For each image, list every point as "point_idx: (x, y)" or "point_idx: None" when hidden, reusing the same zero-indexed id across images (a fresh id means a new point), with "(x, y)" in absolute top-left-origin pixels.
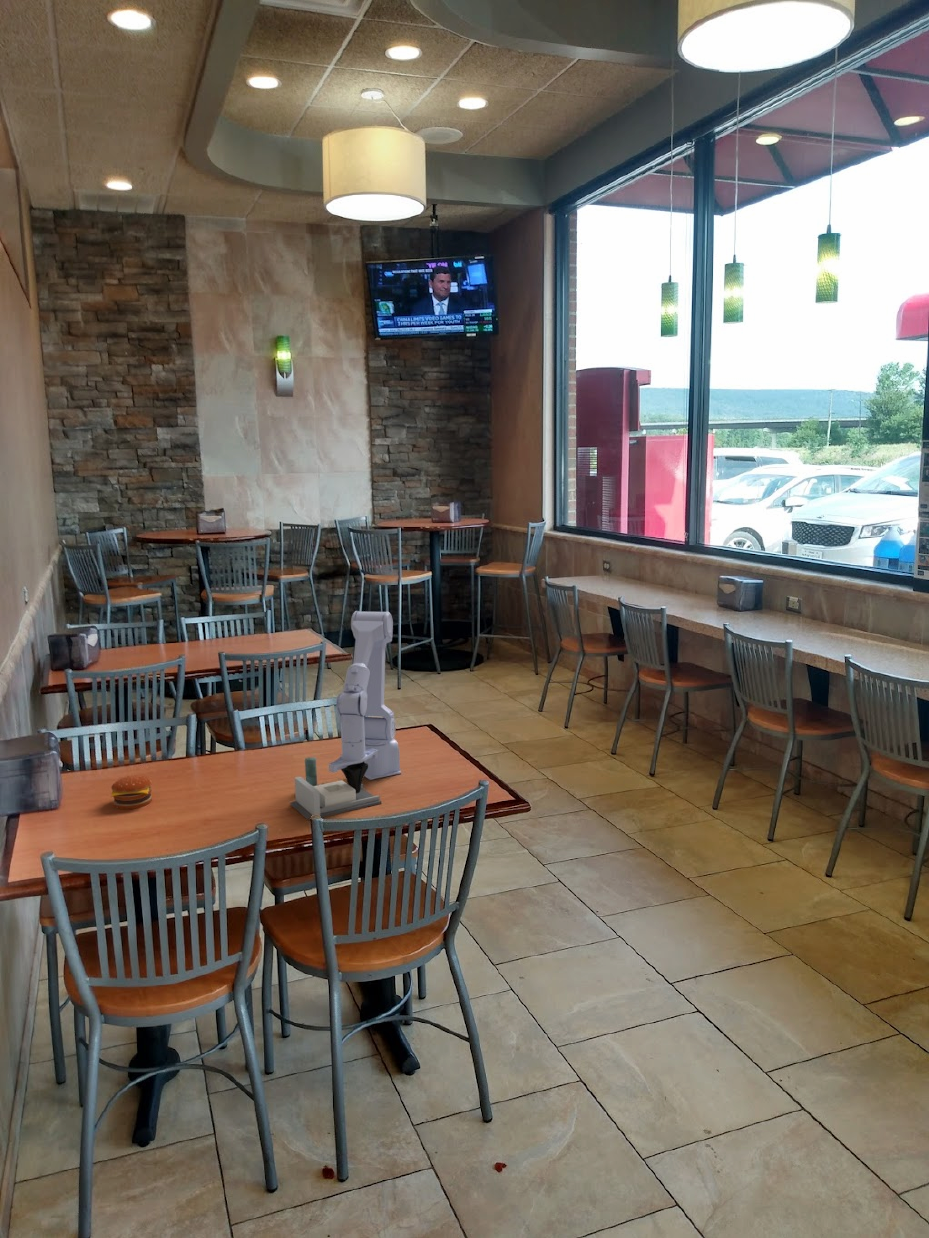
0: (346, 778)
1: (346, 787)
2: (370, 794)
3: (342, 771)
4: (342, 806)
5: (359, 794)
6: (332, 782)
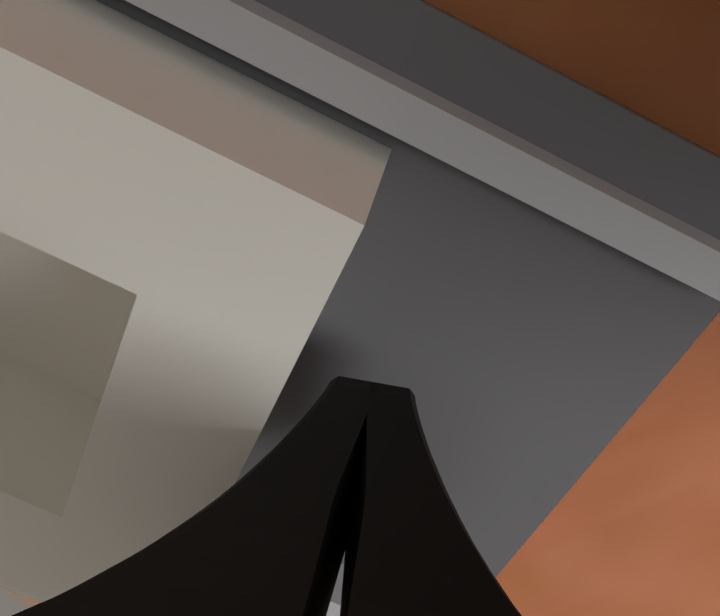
0: (217, 504)
1: (125, 509)
2: (549, 491)
3: (56, 602)
4: None
5: (486, 377)
6: (124, 124)
